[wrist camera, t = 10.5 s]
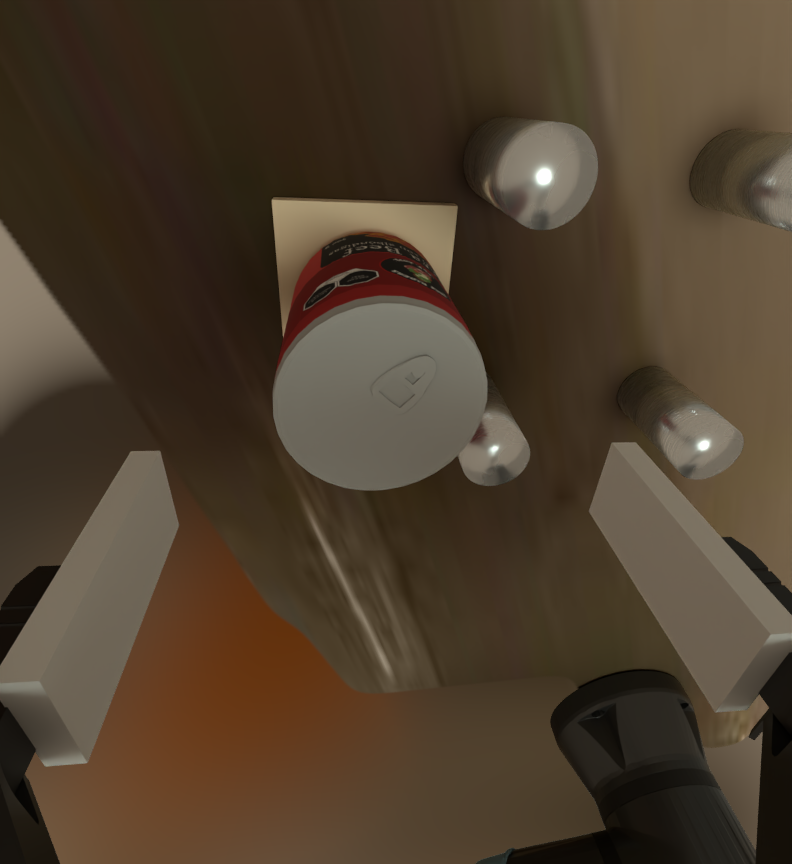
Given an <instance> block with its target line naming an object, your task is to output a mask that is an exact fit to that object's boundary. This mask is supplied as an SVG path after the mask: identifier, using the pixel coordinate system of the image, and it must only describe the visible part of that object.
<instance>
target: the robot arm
mask: <svg viewBox="0 0 792 864" xmlns="http://www.w3.org/2000/svg"><path fill="white" fill-rule="evenodd" d="M589 513H590V514H591V516H592V517H593V519H594V520H595V522H596V524H597V525H598V527H599V528H600V530H601V532H602V533H603V535H604V536H605V538H606V540H607V541H608V543H609V544H610V546H611V548H612V549H613V551H614V552H615V554H616V555H617V557H618V559H619V560H620V562H621V563H622V565H623V567H624V568H625V570H626V571H627V573H628V575H629V576H630V578H631V579H632V581H633V583H634V584H635V586H636V587H637V589H638V590H639V592H640V594H641V595H642V597H643V598H644V600H645V602H646V603H647V605H648V606H649V608H650V610H651V611H652V613H653V614H654V616H655V617H656V619H657V621H658V622H659V624H660V625H661V627H662V629H663V630H664V632H665V633H666V635H667V637H668V638H669V640H670V641H671V643H672V645H673V646H674V648H675V649H676V651H677V652H678V654H679V656H680V657H681V659H682V660H683V662H684V664H685V665H686V667H687V668H688V670H689V672H690V673H691V675H692V676H693V678H694V680H695V681H696V683H697V684H698V686H699V687H700V689H701V691H702V692H703V694H704V695H705V697H706V699H707V700H708V702H709V703H710V705H711V707H712V708H713V710H714V711H715V712H726V711H739V710H747V709H748V708H749V707H750V705H751V704H752V703H753V701H754V700H755V699H756V697H757V696H758V695H759V694H760V696H761V697H762V698H763V700H764V701H765V702H766V704H767V705H768V707H769V709H768V710H767V712H766V713H765V714H764V715H763V716H762V718H761V719H760V720H759V721H758V723H757V724H756V725H755V726H754V727H753V729H752V730H751V733H750V735H749V738H751V739H753V740H755V739H756V738H757V737H758V735H759V734H760V733H761V732H763V739H762V756H761V774H760V775H761V776H760V793H759V794H760V795H759V811H758V828H757V845H756V846H757V847H756V850H755V849H754V847H753V845H752V843H751V842H750V840H749V838H748V836H747V834H746V833H745V831H744V829H743V827H742V826H741V824H740V822H739V820H738V819H737V817H736V815H735V813H734V812H733V810H732V808H731V806H730V805H729V803H728V801H727V799H726V797H725V796H724V794H723V792H722V791H721V789H720V787H719V786H718V783H717V782H716V780H715V778H714V776H713V774H712V772H711V771H710V769H709V766H708V764H707V760H706V756H705V752H704V748H703V744H702V740H701V736H700V732H699V728H698V724H697V720H696V716H695V713H694V709H693V705H692V703H691V701H690V699H689V697H688V696H687V694H686V692H685V691H684V689H683V687H682V685H681V684H680V682H679V681H678V680H677V679H676V678H674V677H673V676H671V675H668V674H665V673H661V672H655V671H634V672H626V673H621V674H616V675H612V676H609V677H605V678H602V679H599V680H597V681H594V682H592V683H590V684H588V685H585V686H583V687H582V688H580V689H578V690H576V691H575V692H573V693H572V694H571V695H569V696H568V697H566V698H565V699H564V700H563V701H562V702H561V703H560V704H559V705H558V706H557V707H556V709H555V710H554V712H553V714H552V716H551V728H552V730H553V733H554V736H555V739H556V742H557V745H558V747H559V749H560V750H561V752H562V753H563V755H564V756H565V758H566V759H567V761H568V762H569V764H570V765H571V766H572V768H573V769H574V771H575V772H576V774H577V775H578V776H579V778H580V780H581V781H582V782H583V784H584V785H585V787H586V788H587V790H588V791H589V792H590V794H591V796H592V797H593V798H594V800H595V802H596V805H597V807H598V809H599V812H600V815H601V818H602V821H603V823H604V826H605V828H606V830H603V831H599V832H595V833H590V834H586V835H581V836H577V837H572V838H568V839H563V840H558V841H553V842H548V843H544V844H539V845H534V846H529V847H525V848H520V849H514V848H510V849H508V850H507V851H506V852H505V853H502V854H499V855H495V856H492V857H489V858H485V859H482V860H480V861H478V862H477V863H476V864H792V593H791V592H790V591H789V590H788V589H787V588H786V587H785V585H781V581H780V580H779V579H778V578H777V577H776V576H775V575H774V574H773V573H772V572H771V571H770V572H769V571H768V567H767V566H766V565H765V564H764V563H763V562H762V561H761V560H760V559H759V558H758V557H757V556H756V555H755V554H754V553H753V552H752V551H751V550H750V549H748V548H747V547H745V546H744V545H742V544H741V543H739V542H738V541H736V540H735V539H733V538H732V537H721V536H720V535H719V534H718V533H717V532H716V531H715V530H714V529H713V528H712V526H711V525H710V524H709V523H708V522H707V521H706V520H705V519H704V518H703V517H702V515H701V514H700V513H699V512H698V511H697V510H696V509H695V508H694V507H693V505H692V504H691V503H690V502H689V501H688V500H687V499H686V498H685V497H684V495H683V494H682V493H681V492H680V491H679V490H678V489H677V488H676V487H675V485H674V484H673V483H672V482H671V481H670V480H669V479H668V478H667V477H666V475H665V474H664V473H663V472H662V471H661V470H660V469H659V468H658V467H657V466H656V464H655V463H654V462H653V461H652V460H651V459H650V458H649V457H648V456H647V454H646V453H645V452H644V451H643V450H642V449H641V448H640V447H639V446H638V444H637V443H636V442H623V443H611V446H610V449H609V452H608V455H607V458H606V461H605V464H604V468H603V471H602V474H601V477H600V480H599V483H598V486H597V489H596V492H595V495H594V498H593V501H592V504H591V507H590V510H589ZM178 526H179V523H178V519H177V516H176V512H175V508H174V504H173V500H172V496H171V492H170V488H169V484H168V480H167V476H166V472H165V468H164V464H163V461H162V456H161V452H160V451H131V452H130V454H129V456H128V457H127V459H126V460H125V462H124V464H123V466H122V467H121V469H120V470H119V472H118V473H117V475H116V477H115V478H114V480H113V482H112V483H111V485H110V487H109V488H108V490H107V492H106V493H105V495H104V497H103V498H102V500H101V501H100V503H99V505H98V506H97V508H96V510H95V511H94V513H93V515H92V516H91V518H90V520H89V521H88V523H87V524H86V526H85V528H84V529H83V531H82V533H81V534H80V536H79V538H78V539H77V541H76V542H75V544H74V546H73V547H72V549H71V551H70V552H69V554H68V556H67V557H66V559H65V561H64V562H63V564H62V565H60V566H38V567H37V568H35V569H34V570H33V571H32V572H31V573H29V574H28V575H27V576H26V577H25V578H23V579H22V580H21V581H20V582H19V583H17V584H16V585H15V587H14V588H13V590H12V591H11V592H10V594H9V595H8V597H7V598H6V600H5V601H4V603H3V604H2V606H1V610H0V864H60V862H59V860H58V857H57V854H56V852H55V849H54V846H53V844H52V841H51V838H50V836H49V833H48V830H47V827H46V825H45V822H44V820H43V817H42V815H41V812H40V809H39V806H38V803H37V801H36V798H35V795H34V793H33V790H32V787H31V785H30V782H29V780H28V779H27V777H26V776H25V772H26V770H27V768H28V766H29V764H30V761H31V759H32V757H33V755H34V753H35V752H36V754H37V755H38V757H39V758H40V759H41V761H42V762H43V764H44V765H45V766H56V765H69V764H82V763H88V760H89V758H90V755H91V753H92V750H93V747H94V745H95V742H96V740H97V737H98V734H99V732H100V729H101V726H102V724H103V721H104V719H105V716H106V714H107V711H108V708H109V706H110V703H111V701H112V698H113V695H114V693H115V690H116V688H117V685H118V682H119V679H120V677H121V675H122V672H123V669H124V667H125V664H126V662H127V659H128V656H129V654H130V651H131V649H132V646H133V643H134V641H135V638H136V636H137V633H138V630H139V627H140V625H141V623H142V620H143V617H144V615H145V612H146V610H147V607H148V604H149V602H150V599H151V597H152V594H153V591H154V588H155V586H156V584H157V581H158V578H159V576H160V573H161V571H162V568H163V566H164V563H165V560H166V558H167V555H168V552H169V550H170V547H171V545H172V542H173V540H174V537H175V534H176V532H177V529H178Z"/></svg>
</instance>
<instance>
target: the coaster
mask: <svg viewBox="0 0 792 864" xmlns="http://www.w3.org/2000/svg"><path fill="white" fill-rule="evenodd" d="M457 209H458V206H457V205H456V204H455V203H433V202H404V201H374V200H344V199H314V198H284V197H273V199H272V210H273V222H274V234H275V246H276V258H277V270H278V282H279V294H280V306H281V318H282V330H283V337H284V333H285V328H286V324H287V320H288V315H289V311H290V307H291V303H292V298H293V294H294V290H295V286H296V283H297V281H298V279H299V276H300V274H301V272H302V270H303V269H304V268H305V266H306V265H307V263H308V262H309V260H310V259H311V258H312V257H313V256H314V255H315V254H316V253H317V252H318V251H319V250H320V249H322V248H323V247H325V246H326V245H328V244H329V243H331V242H333V241H334V240H336V239H339V238H342V237H344V236H347V235H349V234H355V233H361V232H381V233H385V234H389V235H393V236H396V237H398V238H400V239H402V240H404V241H406V242H408V243H410V244H411V245H412V246H414V247H415V248H416V249H417V250H419V251H420V252H421V253H422V254H423V256H424V257H425V258H426V259H427V261H428V262H429V263H430V265H431V266H432V268H433V270H434V271H435V273H436V275H437V276H438V278H439V280H440V281H441V283H442V285H443V286H444V288H445V290H446V291H447V293H448V294H449V284H450V275H451V266H452V256H453V247H454V237H455V228H456V218H457Z"/></svg>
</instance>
